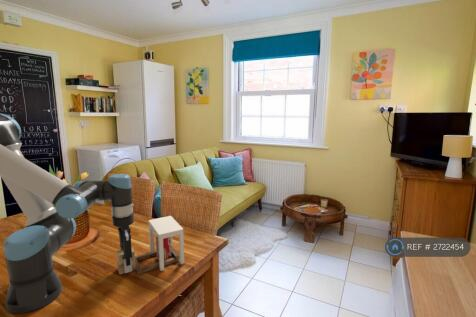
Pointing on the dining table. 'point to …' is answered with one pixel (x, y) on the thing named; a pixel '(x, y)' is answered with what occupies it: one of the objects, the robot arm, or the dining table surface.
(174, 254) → the pull frame
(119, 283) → the dining table surface
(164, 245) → the beverage can
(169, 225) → the white stool
